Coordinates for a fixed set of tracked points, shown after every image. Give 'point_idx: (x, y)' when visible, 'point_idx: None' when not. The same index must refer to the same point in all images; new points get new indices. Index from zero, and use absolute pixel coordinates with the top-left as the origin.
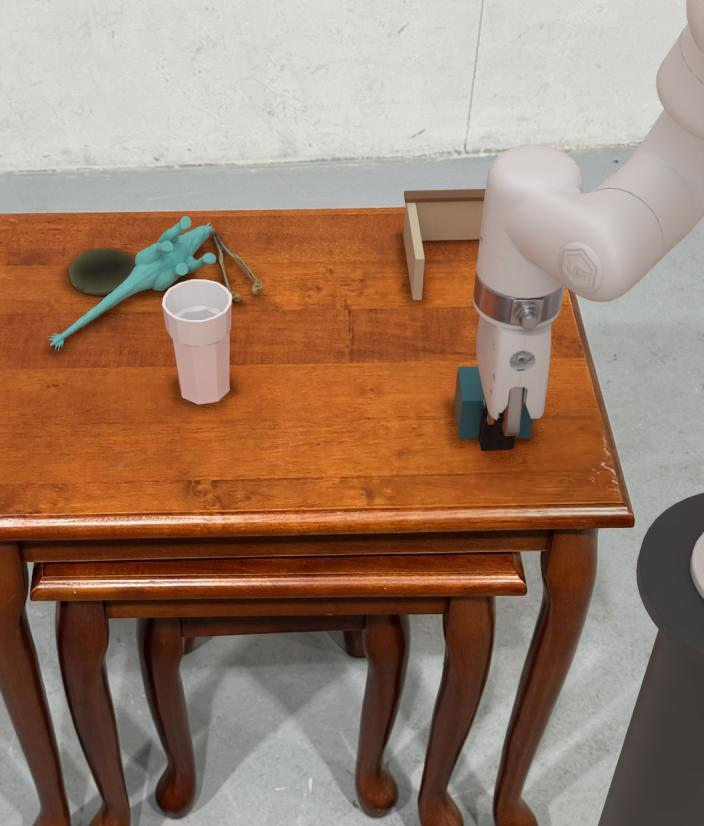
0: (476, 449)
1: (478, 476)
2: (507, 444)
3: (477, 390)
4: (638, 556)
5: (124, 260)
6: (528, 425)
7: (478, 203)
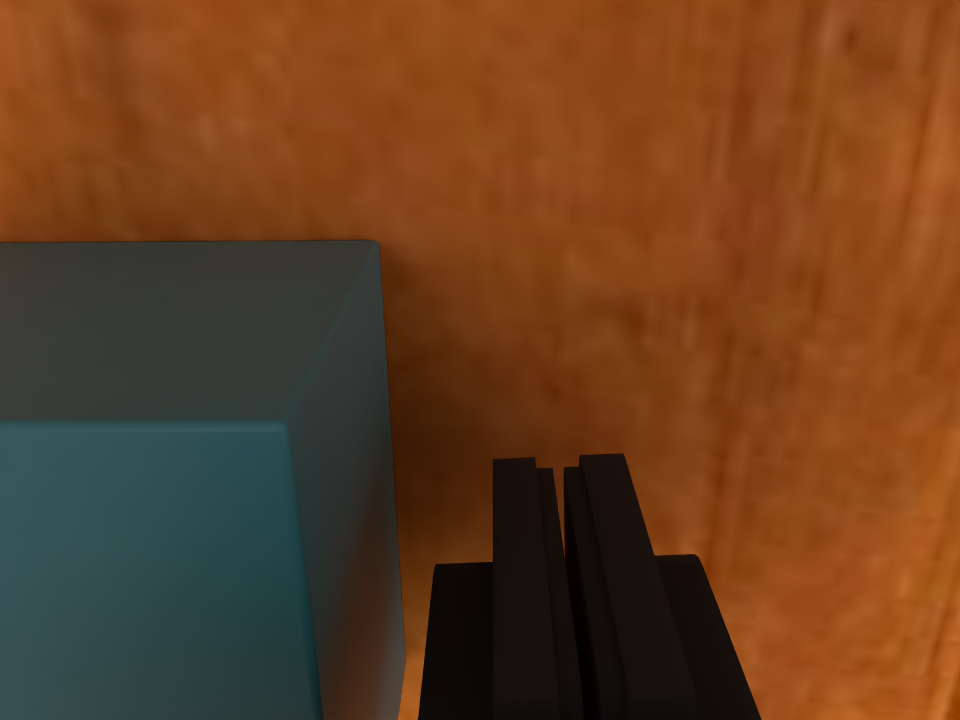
0: None
1: (730, 590)
2: (699, 570)
3: None
4: None
5: None
6: (362, 319)
7: None
